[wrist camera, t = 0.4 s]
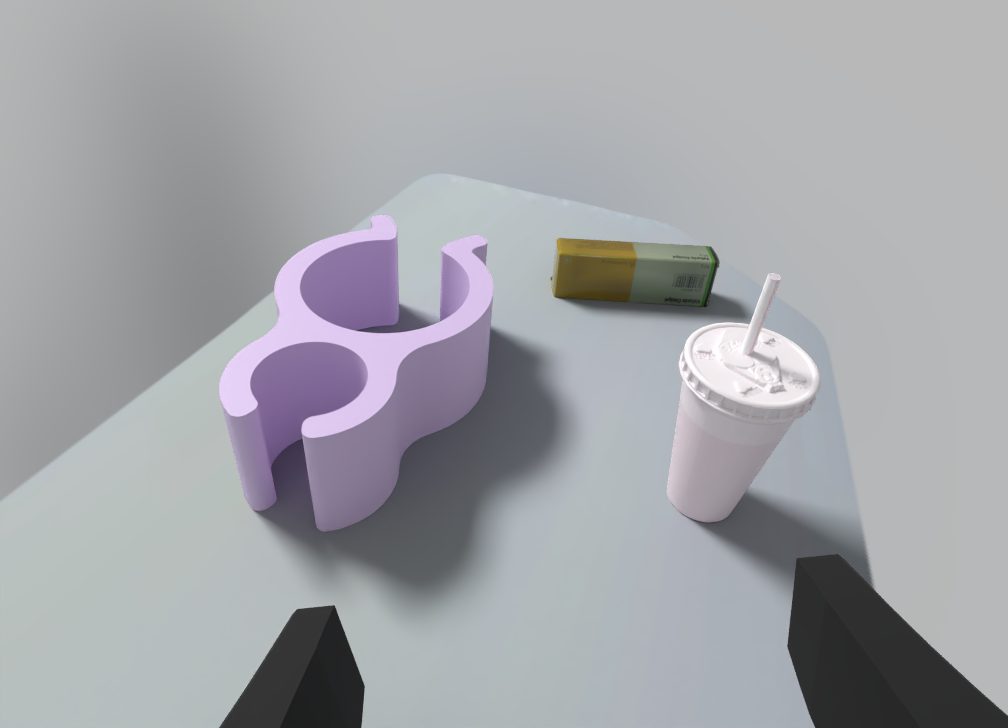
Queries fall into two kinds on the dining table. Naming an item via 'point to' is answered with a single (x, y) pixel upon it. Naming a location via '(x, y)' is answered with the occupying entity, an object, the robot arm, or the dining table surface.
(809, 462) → the dining table surface
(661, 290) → the medication box
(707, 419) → the smoothie
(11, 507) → the dining table surface
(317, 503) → the clip
